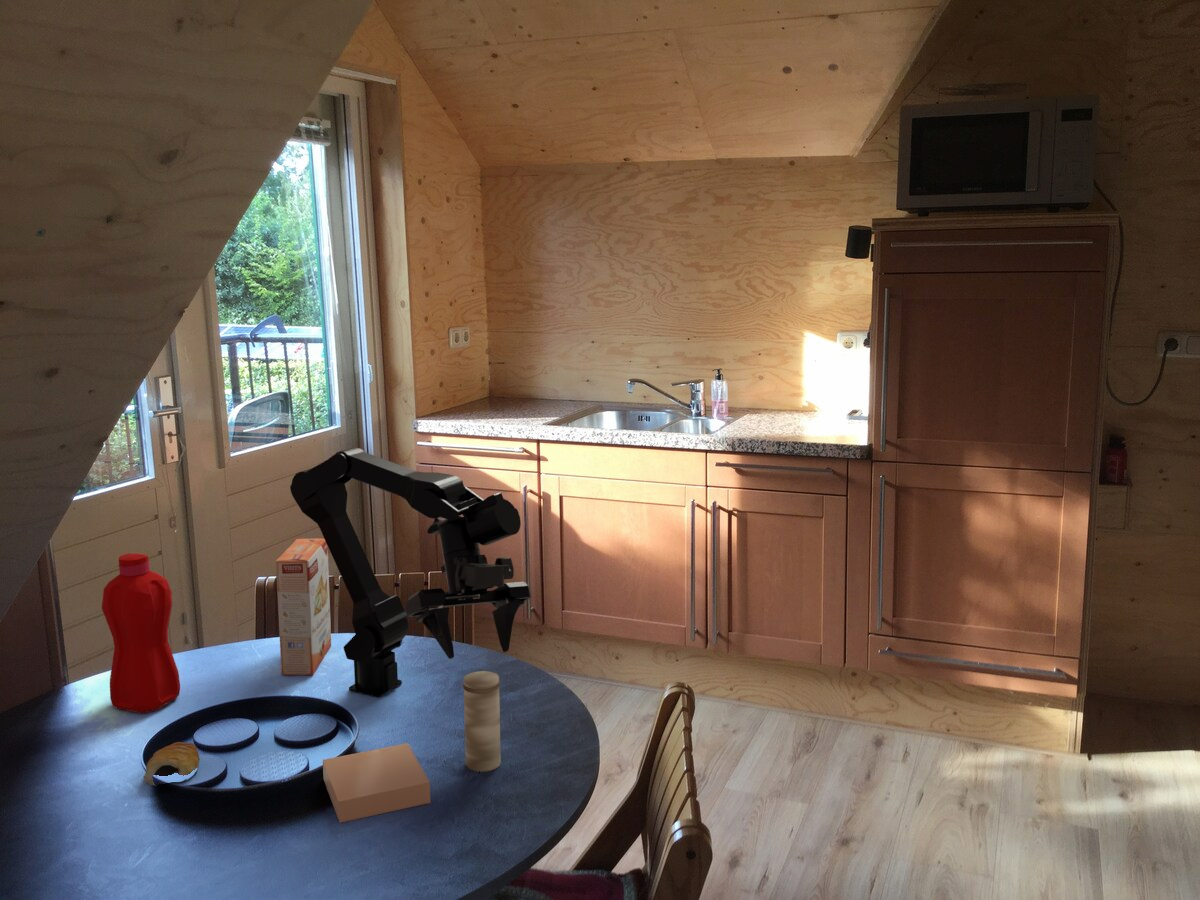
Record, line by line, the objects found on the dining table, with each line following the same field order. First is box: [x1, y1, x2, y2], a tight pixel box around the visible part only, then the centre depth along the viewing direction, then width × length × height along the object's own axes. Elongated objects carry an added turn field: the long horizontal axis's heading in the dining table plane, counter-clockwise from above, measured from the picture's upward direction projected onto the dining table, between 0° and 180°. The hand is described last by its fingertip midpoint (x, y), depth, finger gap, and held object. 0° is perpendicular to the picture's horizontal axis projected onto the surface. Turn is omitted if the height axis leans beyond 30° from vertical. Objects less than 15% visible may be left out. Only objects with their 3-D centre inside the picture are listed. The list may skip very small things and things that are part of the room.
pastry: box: [143, 741, 201, 786], centre depth 148 cm, size 9×7×4 cm
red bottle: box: [101, 552, 181, 714], centre depth 168 cm, size 9×11×25 cm
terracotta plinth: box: [322, 742, 431, 824], centre depth 142 cm, size 12×12×3 cm
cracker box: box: [275, 537, 332, 676], centre depth 184 cm, size 14×6×21 cm, turn 1°
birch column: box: [462, 670, 502, 773], centre depth 148 cm, size 5×5×13 cm
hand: (479, 654), depth 156 cm, fingers open, 9 cm apart
